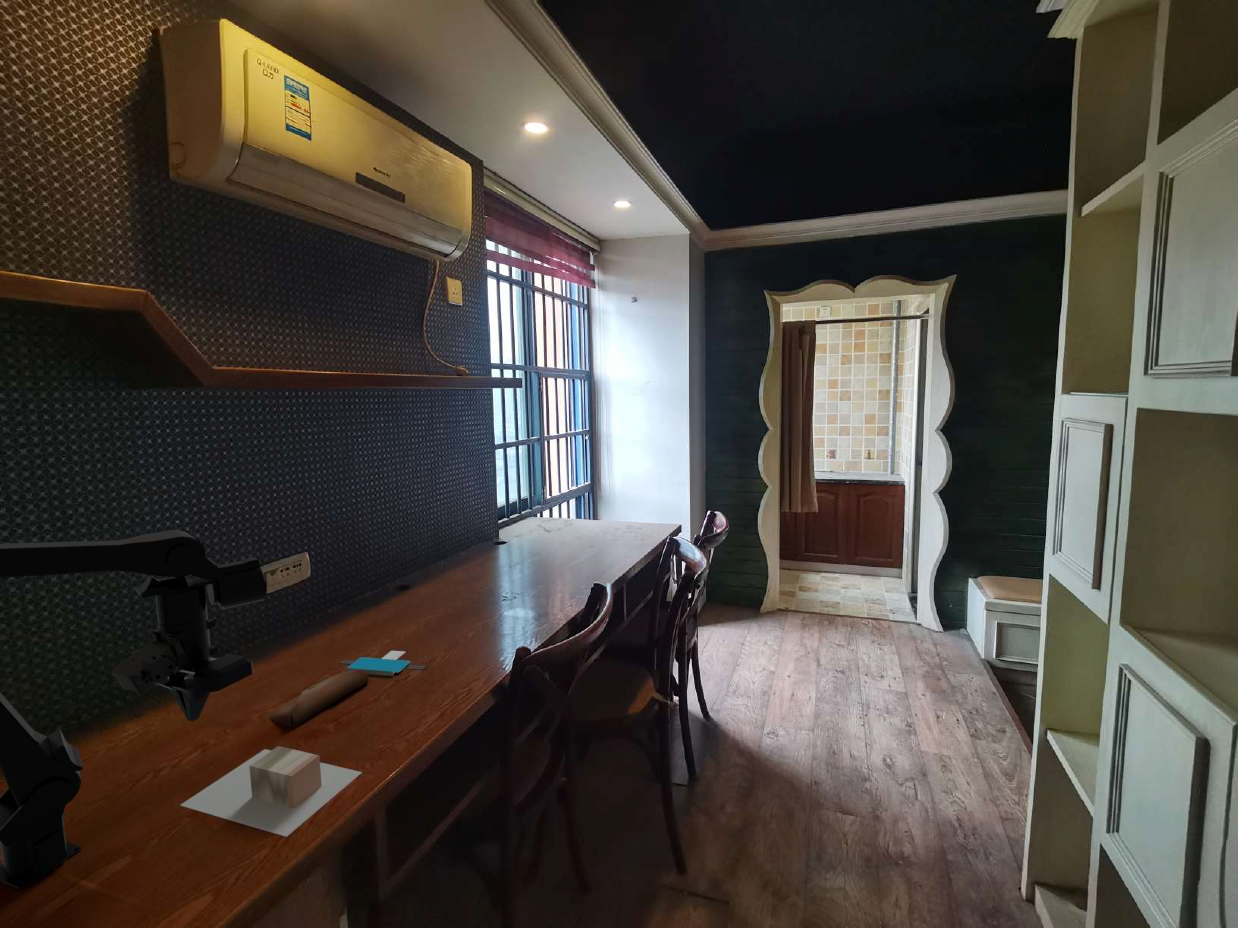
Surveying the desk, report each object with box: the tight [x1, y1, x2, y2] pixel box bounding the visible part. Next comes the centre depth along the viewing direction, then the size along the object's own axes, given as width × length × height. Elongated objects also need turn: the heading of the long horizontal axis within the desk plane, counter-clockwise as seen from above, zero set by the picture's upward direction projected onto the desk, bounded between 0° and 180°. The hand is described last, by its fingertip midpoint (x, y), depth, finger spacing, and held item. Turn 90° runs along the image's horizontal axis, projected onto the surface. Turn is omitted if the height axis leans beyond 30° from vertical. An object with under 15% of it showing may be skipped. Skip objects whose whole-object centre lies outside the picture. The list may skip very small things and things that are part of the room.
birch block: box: [249, 745, 322, 808], centre depth 87 cm, size 5×5×8 cm
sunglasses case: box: [267, 669, 370, 730], centre depth 113 cm, size 18×7×7 cm
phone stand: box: [339, 650, 427, 677], centre depth 130 cm, size 20×12×2 cm, turn 80°
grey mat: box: [179, 748, 363, 838], centre depth 88 cm, size 20×14×1 cm
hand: (193, 719), depth 86 cm, fingers closed
